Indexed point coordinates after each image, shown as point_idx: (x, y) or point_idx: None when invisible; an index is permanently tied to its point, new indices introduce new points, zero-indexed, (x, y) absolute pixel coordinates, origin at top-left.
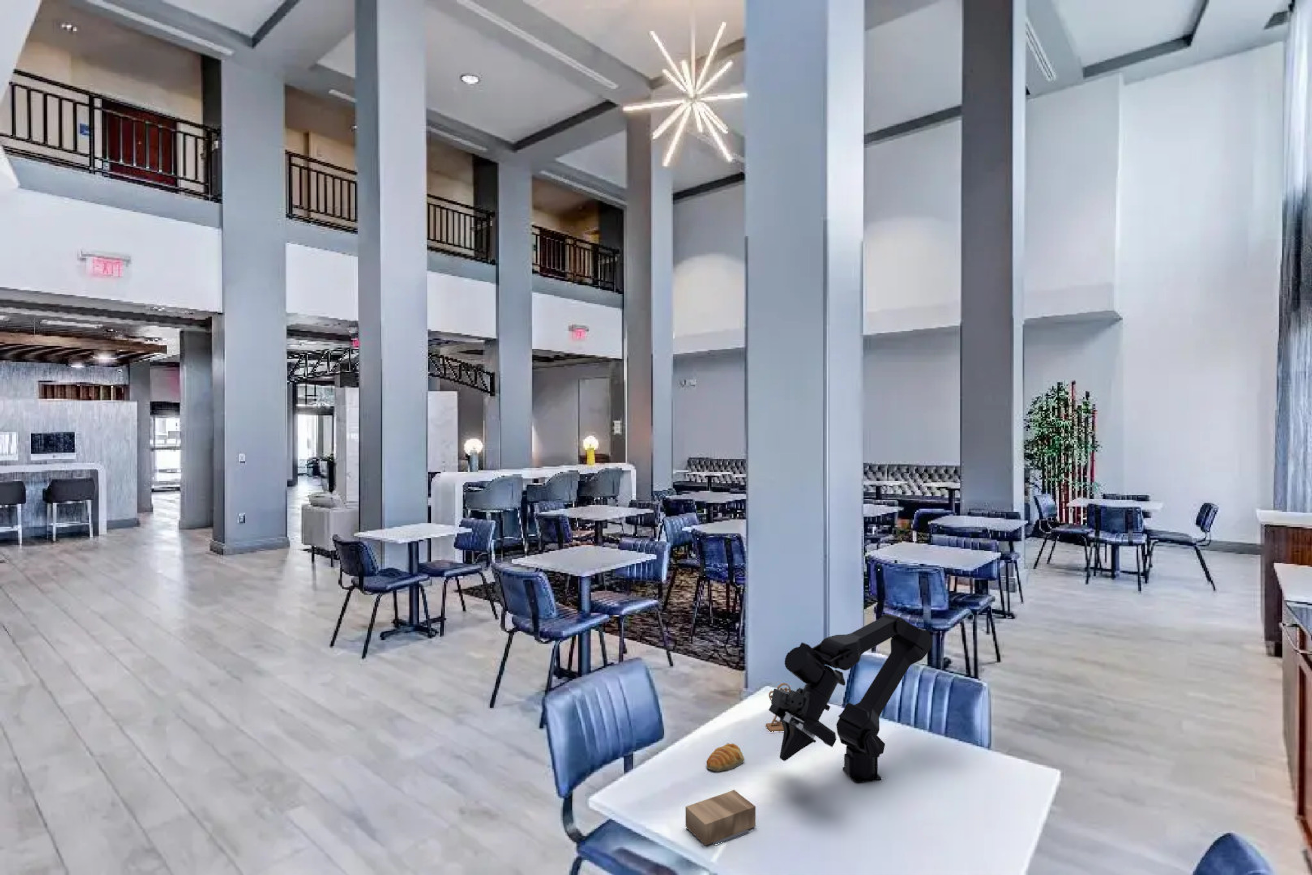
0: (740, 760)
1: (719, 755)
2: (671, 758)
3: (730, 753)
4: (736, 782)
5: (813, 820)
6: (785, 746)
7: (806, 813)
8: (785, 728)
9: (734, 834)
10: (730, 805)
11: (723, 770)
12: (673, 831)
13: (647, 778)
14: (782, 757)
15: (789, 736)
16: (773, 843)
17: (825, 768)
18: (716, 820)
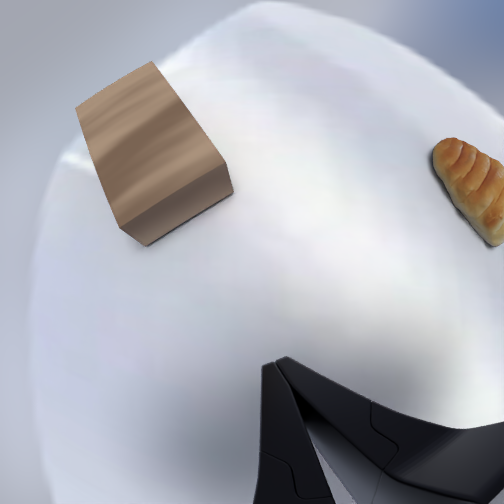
0: (485, 232)
1: (472, 161)
2: (451, 87)
3: (487, 192)
4: (394, 214)
5: (187, 427)
6: (289, 416)
7: (224, 417)
8: (441, 461)
9: None
10: (134, 152)
11: (445, 186)
12: None
13: (360, 40)
14: (262, 374)
15: (315, 488)
16: (87, 287)
17: None
18: (81, 126)
